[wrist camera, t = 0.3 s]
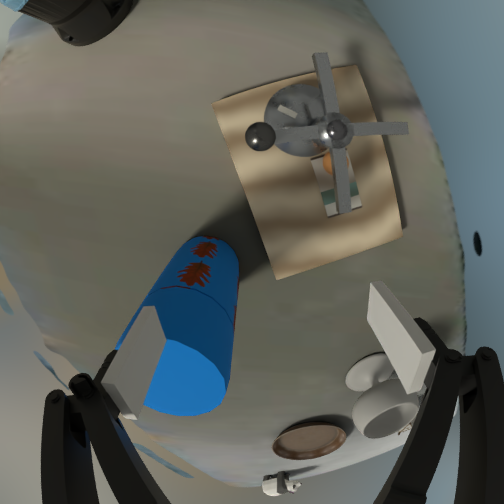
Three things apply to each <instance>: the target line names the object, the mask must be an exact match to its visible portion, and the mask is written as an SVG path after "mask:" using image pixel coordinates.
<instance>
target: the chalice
mask: <svg viewBox="0 0 504 504" xmlns="http://www.w3.org/2000/svg"><path fill="white" fill-rule="evenodd" d="M393 370H394V367H393V366H392V364H391V362H390V360H389V358H388V356H387V354H381V353H379V354H374V355H371V356H368V357H366V358H364V359H362V360H360V361H359V362H357V363H356V364H355V365H354V366H353V367H352V368H351V369H350V370H349V372H348V374H347V375H346V379H345V380H346V385H347V387H349V388H350V389H352V390H354V391H365V392H364V393H363V394H362V395H361V396H360V397H359V398H358V400H357V401H356V403H355V405H354V407H353V410H352V418H353V422H354V424H355V425H356V427H357V428H358V430H359V431H360V432H361V433H362V434H363V435H364V436H366V437H368V438H381V437H385V436H388V435H391V434H393V433H395V432H397V431H399V430H401V429H402V428H404V427H405V426H407V425H408V424H409V423H410V422H411V421H412V420H413V419H414V418H415V416H416V415H417V412H418V408H419V400H418V395H417V392H414V393H410V394H407V393H406V391H405V389H404V387H403V385H402V383H401V381H400V379H390V380H387V379H388V378H389V377H390V375H391V374H392V372H393Z"/></svg>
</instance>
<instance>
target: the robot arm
mask: <svg viewBox="0 0 504 504" xmlns="http://www.w3.org/2000/svg"><path fill="white" fill-rule="evenodd" d="M0 2H1V3H2V4H3V5H5V6H7V7H9V8H11V9H12V10H13V11H18V12H21V13H24V14H27V15H29V16H32V17H34V18H37V19H39V20H42V21H44V22H47V23H49V24H51V25H52V26H53V28H54V29H55V31H56V32H57V34H58V35H59V36H60V38H61V39H62V40H63V41H65V42H67V43H69V44H71V45H74V46H85V45H89V44H92V43H94V42H96V41H98V40H100V39H102V38H103V37H105V36H106V35H108V34H109V33H110V32H111V31H113V30H114V29H115V28H116V27H117V26H118V25H119V24H120V23H121V22H122V20H123V19H124V18H125V16H126V15H127V13H128V12H129V10H130V8H131V6H132V3H133V0H0ZM367 321H368V322H369V324H370V326H371V328H372V329H373V331H374V333H375V335H376V336H377V338H378V340H379V342H380V343H381V345H382V347H383V349H384V351H385V353H386V354H387V356H388V358H389V360H390V362H391V364H392V366H393V367H394V369H395V371H396V373H397V375H398V377H399V379H400V381H401V383H402V385H403V387H404V389H405V391H406V393H407V394H410V393H414V392H416V391H419V390H421V388H422V385H423V383H425V385H426V387H427V389H426V391H425V393H424V395H423V397H422V400H421V401H422V402H421V405H420V408H419V411H418V413H417V416H416V419H415V421H414V424H413V426H412V429H411V431H410V434H409V436H408V438H407V440H406V443H405V445H404V447H403V450H402V452H401V454H400V456H399V458H398V460H397V462H396V464H395V466H394V468H393V470H392V472H391V474H390V475H389V477H388V479H387V481H386V483H385V484H384V486H383V488H382V490H381V492H380V493H379V495H378V496H377V498H376V500H375V501H374V503H373V504H425V503H426V499H427V497H426V492H427V490H428V488H429V485H430V483H431V481H432V478H433V476H434V473H435V471H436V468H437V466H438V463H439V460H440V458H441V455H442V452H443V449H444V446H445V443H446V440H447V436H448V433H449V430H450V426H451V422H452V419H453V415H454V411H455V406H456V402H457V397H458V396H459V406H460V452H459V467H458V478H457V486H456V494H455V500H454V504H504V382H503V376H502V372H501V368H500V364H499V360H498V357H497V354H496V352H495V351H494V350H493V349H491V348H489V347H480V348H479V349H478V350H477V351H476V354H475V355H472V356H462V354H461V353H460V352H458V351H456V350H454V349H448V348H447V347H446V345H445V344H444V343H443V341H442V340H441V339H440V338H439V336H438V335H437V334H435V331H434V330H433V329H432V328H431V326H430V325H429V324H428V323H427V322H426V321H425V320H423V319H421V318H420V317H419V318H415V319H413V318H412V317H411V316H410V314H409V313H408V312H407V311H406V309H405V308H404V307H403V306H402V304H401V303H400V302H399V301H398V299H397V298H396V297H395V296H394V295H393V293H392V292H391V291H390V290H389V289H388V287H387V286H386V285H385V284H384V283H383V281H382V280H381V281H375V282H371V283H370V295H369V305H368V314H367ZM166 341H167V340H166V338H165V335H164V332H163V329H162V327H161V324H160V321H159V318H158V315H157V312H156V309H155V306H144V307H143V308H142V310H141V312H140V313H139V315H138V317H137V318H136V320H135V322H134V323H133V325H132V327H131V329H130V330H129V332H128V334H127V335H126V337H125V339H124V341H123V343H122V344H121V346H120V348H119V350H113V351H112V352H111V353H109V354H108V355H107V357H106V359H105V360H104V363H103V364H102V366H101V368H100V369H99V371H98V373H97V375H96V376H95V378H94V380H92V378H91V377H90V375H89V374H86V373H80V374H77V375H75V376H74V377H73V378H72V379H71V380H70V382H69V388H70V390H71V391H72V393H73V394H74V395H70V396H66V395H65V393H64V392H63V391H62V390H59V389H58V390H53V391H51V392H50V393H49V394H48V395H47V397H46V400H45V407H44V416H43V427H42V443H41V489H42V503H43V504H99V499H98V494H97V489H96V483H95V477H94V471H93V463H92V455H91V445H90V441H91V444H92V446H93V449H94V451H95V454H96V456H97V459H98V461H99V464H100V466H101V468H102V470H103V473H104V475H105V477H106V479H107V481H108V483H109V485H110V487H111V489H112V491H113V493H114V495H115V497H116V499H117V501H118V503H119V504H171V503H170V501H169V500H168V499H167V497H166V496H165V495H164V493H163V492H162V490H161V489H160V487H159V486H158V484H157V483H156V482H155V480H154V479H153V477H152V475H151V474H150V472H149V471H148V469H147V468H146V466H145V464H144V463H143V461H142V460H141V458H140V456H139V454H138V453H137V451H136V449H135V447H134V445H133V444H132V442H131V440H130V438H129V436H128V434H127V433H126V431H125V429H124V427H123V425H122V423H121V421H120V419H119V418H118V415H119V413H120V412H121V414H122V415H123V416H124V418H128V419H135V420H138V417H139V414H140V412H141V409H142V406H143V403H144V400H145V397H146V394H147V392H148V389H149V386H150V383H151V381H152V378H153V375H154V372H155V370H156V367H157V364H158V362H159V359H160V356H161V354H162V351H163V349H164V346H165V343H166Z"/></svg>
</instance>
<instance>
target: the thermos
mask: <svg viewBox="0 0 504 504" xmlns="http://www.w3.org/2000/svg"><path fill="white" fill-rule="evenodd" d="M238 289H239V261H238V259H237V256H236V254H235V252H234V250H233V249H232V248H231V247H230V246H229V245H228V244H227V243H226V242H224V241H222V240H220V239H218V238H216V237H210V236H200V237H195V238H192V239H191V240H189V241H188V242H186V243H184V244H183V245H182V247H181V248H180V249H179V250H178V251H177V252H176V254H175V255H174V256H173V258H172V259H171V261H170V262H169V264H168V265H167V266H166V268H165V269H164V271H163V272H162V274H161V275H160V277H159V278H158V280H157V281H156V283H155V284H154V286H153V287H152V289H151V290H150V292H149V293H148V295H147V296H146V298H145V299H144V301H143V302H142V304H141V305H140V307H139V309H138V310H137V312H136V313H135V315H134V316H133V318H132V320H131V321H130V323H129V324H128V326H127V328H126V329H125V331H124V332H123V334H122V336H121V337H120V339H119V341H118V342H117V345H116V347H115V350H119V348H120V346H121V344H122V343H123V341H124V339H125V337H126V335H127V334H128V332H129V330H130V329H131V327H132V325H133V323H134V322H135V320H136V318H137V317H138V315H139V313H140V312H141V310H142V308H143V307H144V306H155V309H156V312H157V315H158V318H159V321H160V324H161V327H162V329H163V332H164V335H165V338H166V340H167V341H166V343H165V346H164V349H163V351H162V354H161V356H160V359H159V362H158V364H157V367H156V370H155V372H154V375H153V378H152V381H151V383H150V386H149V389H148V392H147V394H146V397H145V400H144V403H143V405H145V406H148V407H150V408H152V409H154V410H157V411H159V412H162V413H167V414H172V415H176V416H196V415H199V414H203V413H207V412H210V411H211V410H213V409H214V408H215V407H217V406H218V405H220V404H221V402H222V400H223V398H224V396H225V393H226V390H227V387H228V383H229V380H230V370H231V360H232V349H233V338H234V329H235V318H236V308H237V298H238Z"/></svg>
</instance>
